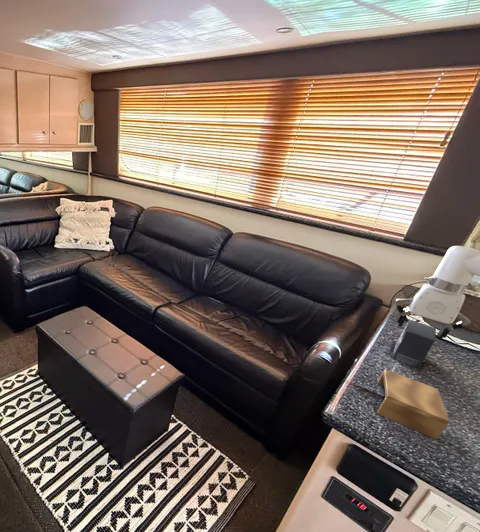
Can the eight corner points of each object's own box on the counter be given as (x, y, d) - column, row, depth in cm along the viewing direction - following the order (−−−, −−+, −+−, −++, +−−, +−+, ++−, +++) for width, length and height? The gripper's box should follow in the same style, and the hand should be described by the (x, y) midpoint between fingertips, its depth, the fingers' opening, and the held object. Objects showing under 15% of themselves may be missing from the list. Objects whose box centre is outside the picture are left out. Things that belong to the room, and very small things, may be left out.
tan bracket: (427, 406, 87) (438, 389, 85) (436, 439, 76) (449, 421, 74) (375, 385, 94) (384, 368, 91) (377, 413, 83) (387, 395, 81)
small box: (393, 346, 115) (408, 318, 111) (419, 356, 111) (436, 327, 106) (389, 360, 107) (406, 330, 102) (417, 371, 102) (436, 340, 98)
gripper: (410, 278, 101) (385, 324, 107) (491, 299, 91) (458, 348, 97) (408, 273, 106) (383, 316, 113) (484, 292, 96) (453, 339, 103)
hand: (418, 331), depth 105 cm, fingers open, 9 cm apart
